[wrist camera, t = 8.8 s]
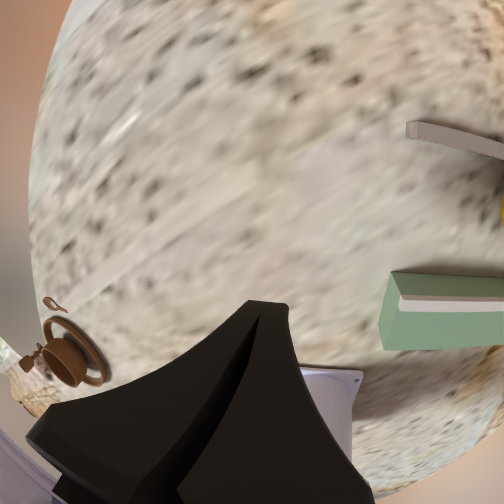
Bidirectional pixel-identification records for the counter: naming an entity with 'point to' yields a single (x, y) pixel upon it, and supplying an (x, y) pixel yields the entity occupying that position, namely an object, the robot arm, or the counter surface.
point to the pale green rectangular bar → (442, 312)
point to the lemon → (502, 209)
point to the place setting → (65, 354)
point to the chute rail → (454, 139)
